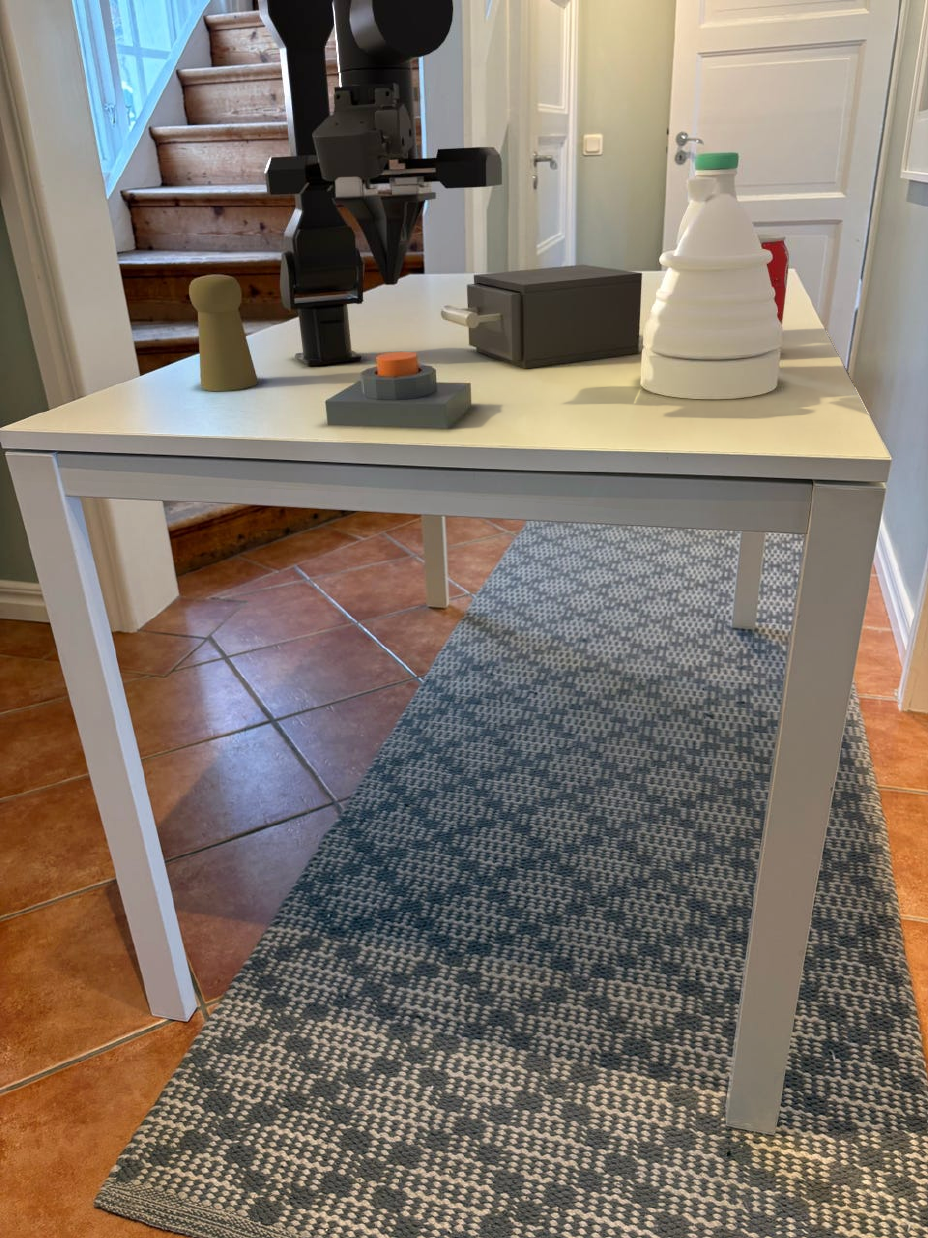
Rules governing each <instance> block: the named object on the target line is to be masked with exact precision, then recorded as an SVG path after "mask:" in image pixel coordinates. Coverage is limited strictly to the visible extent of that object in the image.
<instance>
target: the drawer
mask: <svg viewBox="0 0 928 1238" xmlns="http://www.w3.org/2000/svg"><path fill="white" fill-rule="evenodd" d="M466 298H467V299H466V300H467V307H465V308H459V307H456V306H453V305H449V304H447V305H444V306H443V307H442V308H441V309H440V316H441V319H442V320H444V321H447V322H449V323H453V324H457V325H460V326H463V327H466V328H467V329H468V345H469V346H470V347H474V348H475V349H476V348H479V349H482V350H484V351H487V352H490V353H493V354H496V355H498V356H501V357H504V358H507V359H510V360H512V361H514V360H521V359H522V325H521V292H518V291H513V290H509V289H504V288H499V287H495V286H490V285H489V287H488V286H484V285H479V284H474V283H468V284H466Z"/></svg>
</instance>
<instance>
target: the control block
mask: <svg viewBox="0 0 928 1238" xmlns="http://www.w3.org/2000/svg"><path fill="white" fill-rule="evenodd" d="M418 372H419V373H416V374H412V375H405V376H381V375H378V371H377V366H373V367H369V368H366V369H365V370H362V371H361V372H360V373H359V375H360V376H359V377H360V380H358V381H356V382H355V383H353V384H351V385H350V386H348V387H346V388H344V389H342V390H341V391H339V392H337V393H336V394H334V395H332V396H330V397H329V398H327V399H326V400H324V405H325V415H326V422H327V426H337V427H365V428H366V427H368V428H393V429H396V428H397V429H398V428H399V429H421V430H424V429H425V430H426V429H427V430H448V429H449V428H450V427H451V426H452V425H453V424H454V423H455V422H456V421H457V420H459V419H460V418H461V417H462V416H463V415H464V414H465V413H466V412H467V411H469V409H471V408H472V384H471V382H445V381H444V382H443V381H442V382H439V381H437V370H436V369H435V368H434V367H433V366H432V365H427V364H423V363H418Z"/></svg>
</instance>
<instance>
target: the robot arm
mask: <svg viewBox="0 0 928 1238" xmlns="http://www.w3.org/2000/svg"><path fill="white" fill-rule="evenodd" d="M257 2H258V10H259V17H260V20H261V22H262V24H263V26H264V27H265V28H266V30H267V32H268V34H269V35H270V36H271V38H272V39H273V41H274V42H275V44H276V46H277V47H278V49H279V55H280V56H279V57H280V64H281V74H282V76H281V77H282V84H283V93H284V94H283V95H284V103H285V104H284V105H285V114H286V115H285V116H286V123H287V134H288V142H289V143H288V144H289V153H290V155H289V156H287V155H286V156H271V157H270V158H269V160H268V162H267V164H266V168H265V171H264V178H265V186H266V195H267V196H278V195H279V196H280V195H282V196H283V195H294V201H295V202H294V203H295V209H294V211H293V213H292V215H291V217H290V220H289V221H288V223H287V226H286V229H285V231H284V235H283V236H284V239H283V240H284V249H285V251H282V252H281V257H280V259H281V261H280V279H279V291H280V296H281V297H280V298H281V302H282V306H283V307H284V308H285V309H288V311H296V310H297V314H298V322H299V331H300V340H301V349H302V352H297V353H294V358H295V359H297V361H300V362H302V363H303V364H304V365H306V366H308V367H313V366H314V367H315V366H320V365H329V364H337V363H345V362H354V361H361V360H362V359H363V358H362V354H360V353H357V352H355V351H354V350H352V341H351V331H350V330H351V329H350V319H349V310H348V309H349V307H348V305H362V304H363V302H364V276H365V275H364V274H365V264H366V263H365V259H363V258H362V256H361V251H360V249H359V247H358V246H356V233H355V231H354V229H353V228H352V227H351V225H349V224H348V223H347V220H346V219H345V217H344V216H343V214H342V213H341V211H340V210H339V208H338V206H340V205H341V206H343V207H345V209H346V210H347V211H348V212H349V213H350V215H352V217H353V218H354V219H355V221H356V223H357V224H358V226H359V228H360V230H361V231H362V234H363V236H364V238H365V240H366V242H367V244H368V247H369V250H370V252H371V254H372V257H373V259H374V261H375V264H376V266H377V269H378V271H379V273H380V277H381V278H382V281H383V284H384V285H385V286H395V285H397V284H398V282H399V279H400V277H401V271H402V269H403V266H404V262H405V260H406V255H407V252H408V248H409V245H410V242H411V240H412V239H411V238H412V237H413V232H414V229H415V227H416V225H417V222H418V221H419V218H420V216H421V213H422V211H423V208H424V206H425V203H426V201H430V200H431V201H432V200H436V198H437V193H436V191H433V183H435V182H436V183H437V182H439V183H440V184H441V185H442V186H443V187H444V188H445V189H468V188H469V189H470V188H487V187H495V186H503V167H502V165H503V162H502V157H501V154H500V153H499V152H498V150H497V149H496V148H495V147H494V146H471V147H453V148H452V147H451V148H438V149H437V152H436V155H435V157H424V158H422V149H421V148H422V147H421V144H417V130H416V128H417V127H416V113H415V112H416V111H415V103H419V94H418V93H419V92H418V86H414V77H413V75H414V74H413V63H412V62H413V61H414V60H417V59H420V58H422V57H426V56H428V55H431V54H433V53H434V52H435V51H437V50H438V49H439V48H440V47H441V45H442V44H444V43H445V41H446V40H447V37H448V35H449V33H450V31H451V28H452V23H453V21H454V20H453V19H454V17H453V16H454V1H453V0H257ZM333 29H334V30H335V32H334V33H335V44H336V54H337V67H338V68H337V69H338V78H339V86H334V87H333V90H334V91H333V92H334V94H333V104H334V105H333V106H334V107H333V108H334V109H333V112H332V114H331V110H330V98H329V97H330V96H329V84H328V72H327V71H328V70H327V59H326V58H327V57H326V46H327V44H328V42H329V39H330V37H331V34H332V33H333V31H334V30H333ZM391 161H397V164H398V165H399V164H404V168H393V169H391V163H390V162H391ZM387 184H389V188H390V192H391V194H389V193H379V192H378V191H379V190H378V189H379V185H387ZM342 292H343V293H342ZM345 292H346V293H345ZM332 293H341V294H332ZM322 294H329V295H322ZM330 294H331V295H330ZM297 295H298V296H308V297H298V298H297V297H295V296H297ZM309 295H319V296H309Z"/></svg>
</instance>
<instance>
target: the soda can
mask: <svg viewBox="0 0 928 1238" xmlns="http://www.w3.org/2000/svg"><path fill="white" fill-rule="evenodd" d="M757 235H758V238H759V241H760V244H761V247H762V249H765V250H769V251H770V252H771V253H772V257H773V258H772V260H771V262H769V263H767V264H766V265H767V269H768V273H769V277H770V281H771V286H772V287H773V288H774V290H775V297H774V301H775V303H776V305H777V308H778V313H777V318H778V319H779V321H780V323H781V325H782V326H783V320H784V310H785V303H786V295H787V285H788V277H789V276H788V275H789V266H790V265H789V262H790V254H789V251H788V248H787V246H786V244H785V240H786V236H785V235H781V234H780V235H779V234H757Z"/></svg>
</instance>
